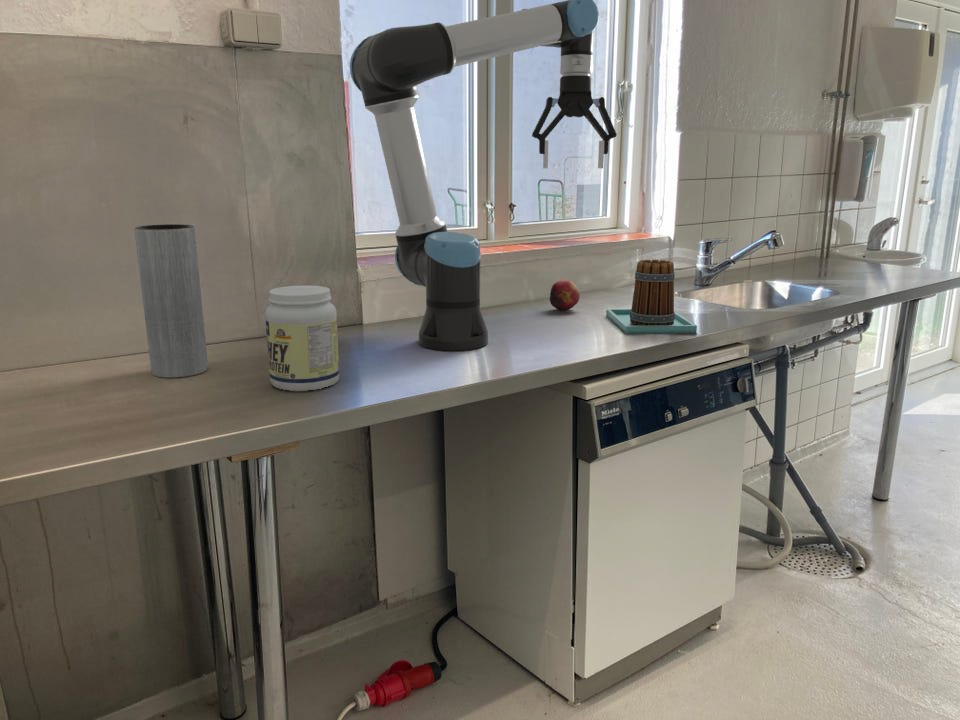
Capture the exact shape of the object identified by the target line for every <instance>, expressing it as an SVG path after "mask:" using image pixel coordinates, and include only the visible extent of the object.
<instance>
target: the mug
mask: <svg viewBox="0 0 960 720" xmlns="http://www.w3.org/2000/svg"><path fill="white" fill-rule="evenodd" d="M674 266H675V264H674V261H671V260H665V259H660V260H659V258H651V259H640V260H639V261H637V264H636V270H635V272H634V273H635V274H634V279H635V280H634V285H633V286H634V287H633V296H632V303H631V308H630V309H631V311H630V322H631V323H632V324H633V325H635V326H643V325H673V324H674V320H675V312H676V311H675V290H674V289H675V287H674V286H675V284H674V283H675V282H674V281H675V280H676V279H675V275H676V274H675V268H674ZM674 311H675V312H674Z"/></svg>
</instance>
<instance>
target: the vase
mask: <svg viewBox="0 0 960 720" xmlns="http://www.w3.org/2000/svg"><path fill="white" fill-rule="evenodd" d="M195 229H196V228H195V226H194V225H192V224H173V223H171V224H170V223H169V224H168V223H167V224H149V225H147V224H146V225H140V226H135V228H134V238H135V247H136V252H137V254H136V255H137V262H138V272H139V278H140V287H141V295H142V304H143V311H144V312H143V314H144V321H145V329H146V338H147V339H146V340H147V345H148V346H147V347H148V354H149V362H150V369H151V370H150V371H151V374H152V375H153V376H155V377H158V378H162V379H176V378H177V379H179V378H186V377H187V378H188V377H192V376H196V375H201V374H202V373H204V372H206V371H207V370H208V369H209V359H208V352H207V351H208V350H207V340H206V330H205V319H204V318H205V317H204V311H203V310H204V307H203V300H202V290H201V288H202V286H201V279H200V277H201V276H200V271H199V269H200V268H199V258H198V250H197V240H196V239H197V238H196V237H197V236H196V230H195Z"/></svg>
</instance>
